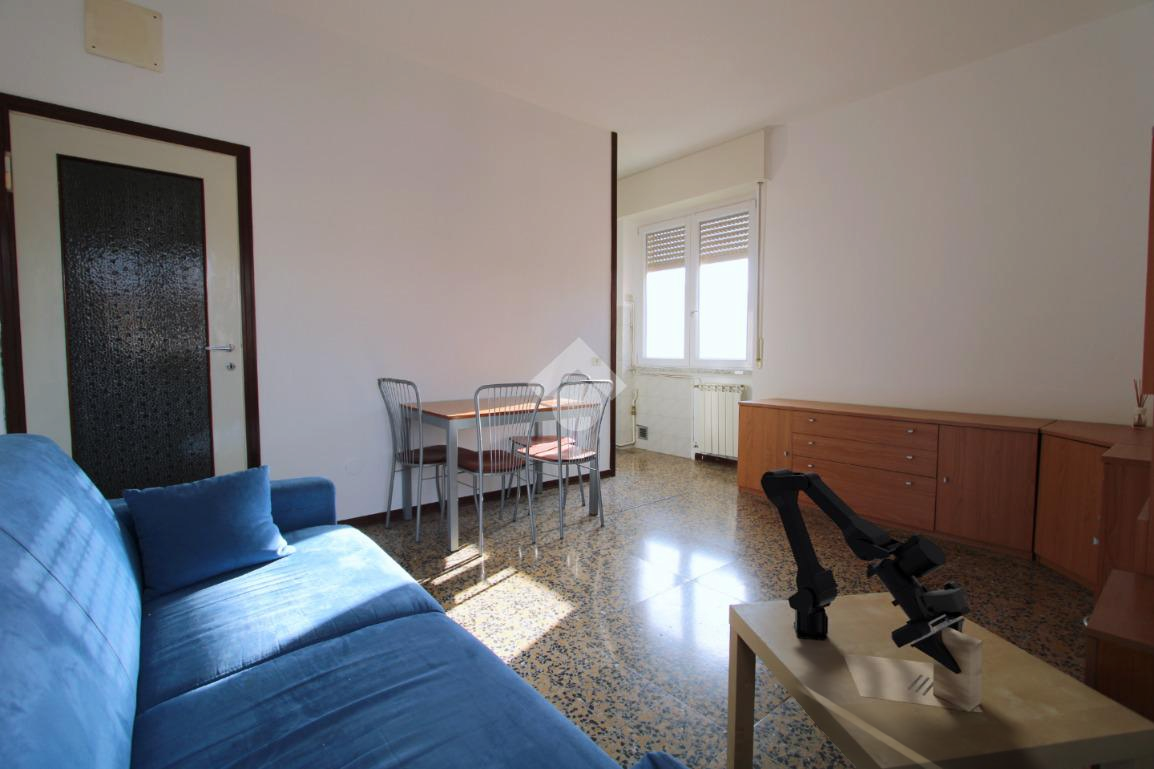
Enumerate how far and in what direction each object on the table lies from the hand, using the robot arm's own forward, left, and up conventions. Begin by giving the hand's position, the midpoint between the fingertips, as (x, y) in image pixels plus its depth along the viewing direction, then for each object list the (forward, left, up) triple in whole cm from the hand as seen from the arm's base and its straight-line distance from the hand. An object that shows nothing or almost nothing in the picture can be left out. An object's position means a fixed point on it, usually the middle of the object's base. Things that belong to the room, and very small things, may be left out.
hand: (965, 669), depth 98 cm
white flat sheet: (-8, +5, -8) cm, 12 cm away
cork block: (-1, +1, -7) cm, 7 cm away
